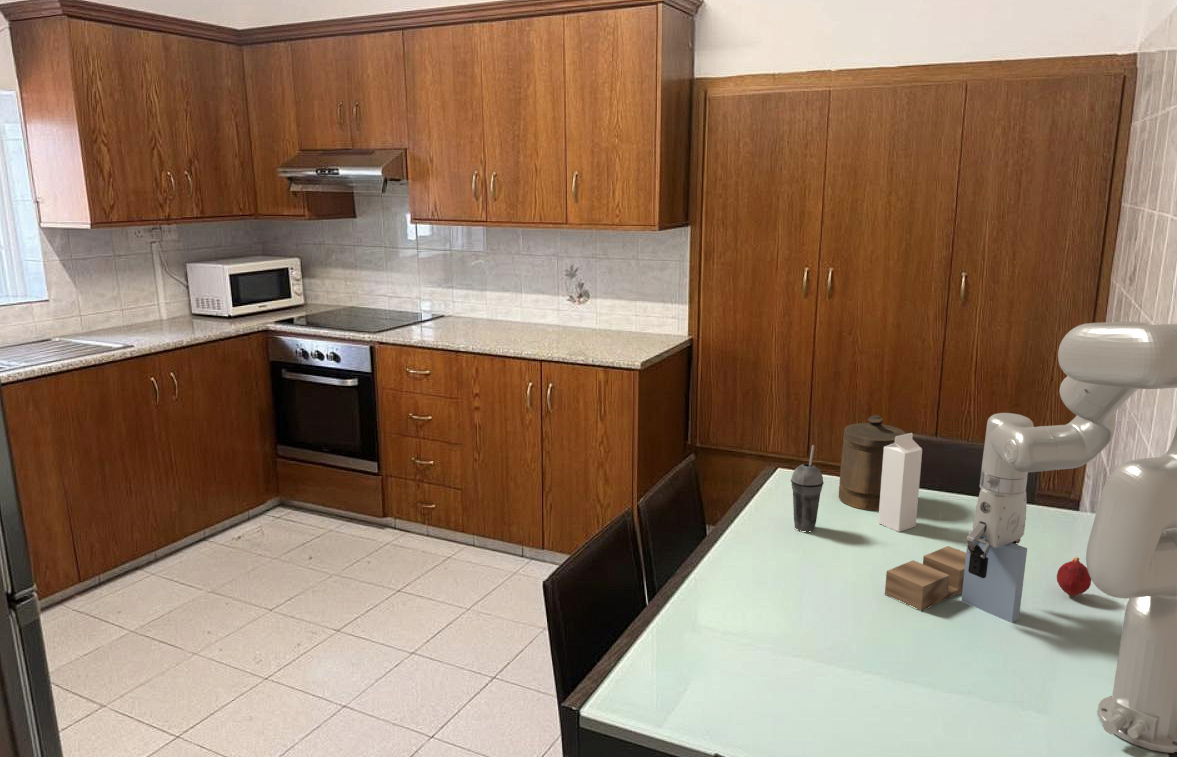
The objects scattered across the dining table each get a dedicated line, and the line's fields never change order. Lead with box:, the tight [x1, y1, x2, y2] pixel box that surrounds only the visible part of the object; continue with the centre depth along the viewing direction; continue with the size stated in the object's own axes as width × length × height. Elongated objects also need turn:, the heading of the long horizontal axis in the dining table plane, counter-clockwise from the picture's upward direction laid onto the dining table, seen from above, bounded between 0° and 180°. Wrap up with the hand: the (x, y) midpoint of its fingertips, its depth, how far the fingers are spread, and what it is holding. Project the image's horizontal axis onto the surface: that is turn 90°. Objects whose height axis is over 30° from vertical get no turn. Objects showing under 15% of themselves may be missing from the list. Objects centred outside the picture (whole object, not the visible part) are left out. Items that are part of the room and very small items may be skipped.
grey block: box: [960, 531, 1028, 624], centre depth 159 cm, size 2×10×14 cm, turn 34°
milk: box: [877, 432, 923, 533], centre depth 197 cm, size 6×6×22 cm
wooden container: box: [838, 414, 907, 512], centre depth 213 cm, size 15×15×22 cm
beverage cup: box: [790, 444, 825, 533], centre depth 195 cm, size 7×7×20 cm
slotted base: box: [884, 545, 966, 611], centre depth 168 cm, size 20×8×5 cm, turn 124°
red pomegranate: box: [1056, 556, 1092, 597], centre depth 164 cm, size 6×6×8 cm
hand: (992, 568), depth 159 cm, fingers open, 9 cm apart
